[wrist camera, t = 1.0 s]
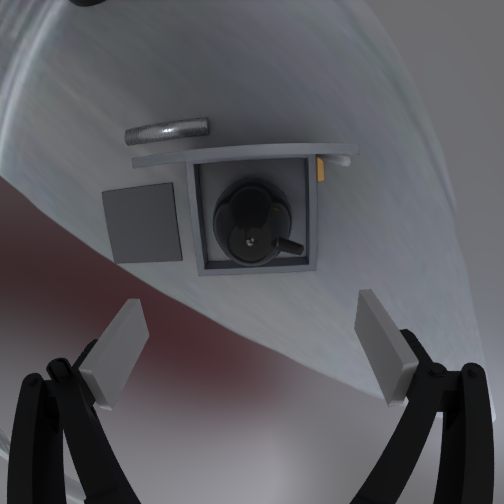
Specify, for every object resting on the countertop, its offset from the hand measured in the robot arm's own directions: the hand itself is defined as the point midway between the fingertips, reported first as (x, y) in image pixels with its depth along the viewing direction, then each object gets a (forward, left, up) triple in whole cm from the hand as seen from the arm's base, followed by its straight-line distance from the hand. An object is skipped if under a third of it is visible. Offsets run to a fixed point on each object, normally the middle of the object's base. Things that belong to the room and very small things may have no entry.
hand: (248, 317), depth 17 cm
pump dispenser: (0, 0, -27) cm, 27 cm away
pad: (+1, -18, -27) cm, 32 cm away
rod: (-12, -12, -26) cm, 31 cm away
